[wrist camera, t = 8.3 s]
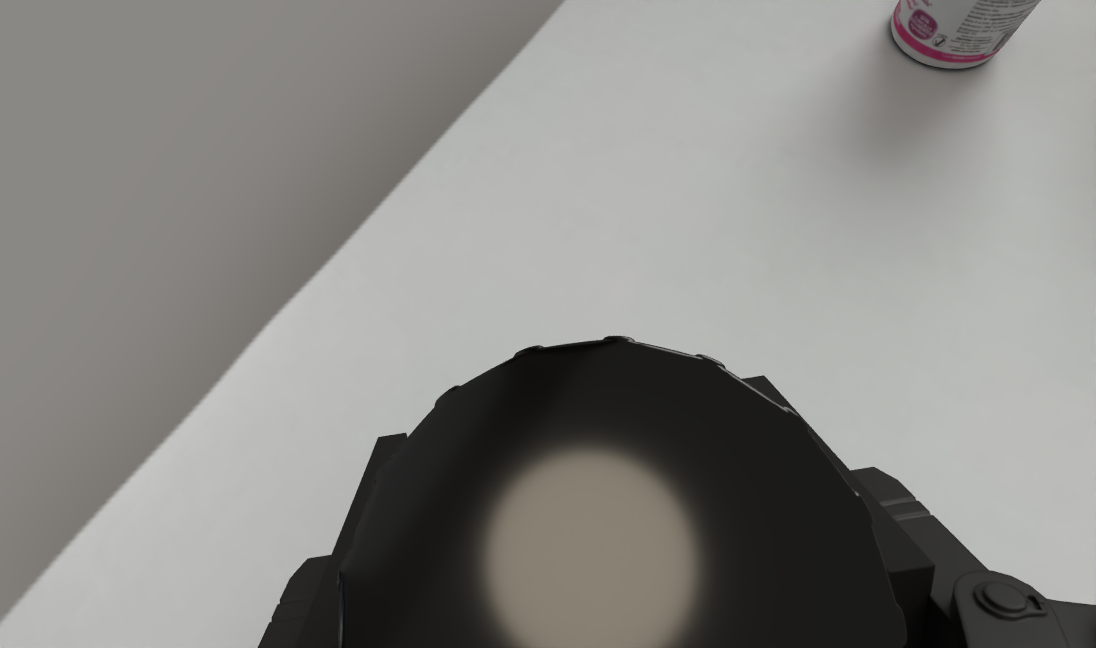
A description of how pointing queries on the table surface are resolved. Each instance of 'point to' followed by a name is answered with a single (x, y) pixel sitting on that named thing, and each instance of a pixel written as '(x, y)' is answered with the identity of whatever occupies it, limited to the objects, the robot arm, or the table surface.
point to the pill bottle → (956, 29)
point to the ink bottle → (614, 517)
